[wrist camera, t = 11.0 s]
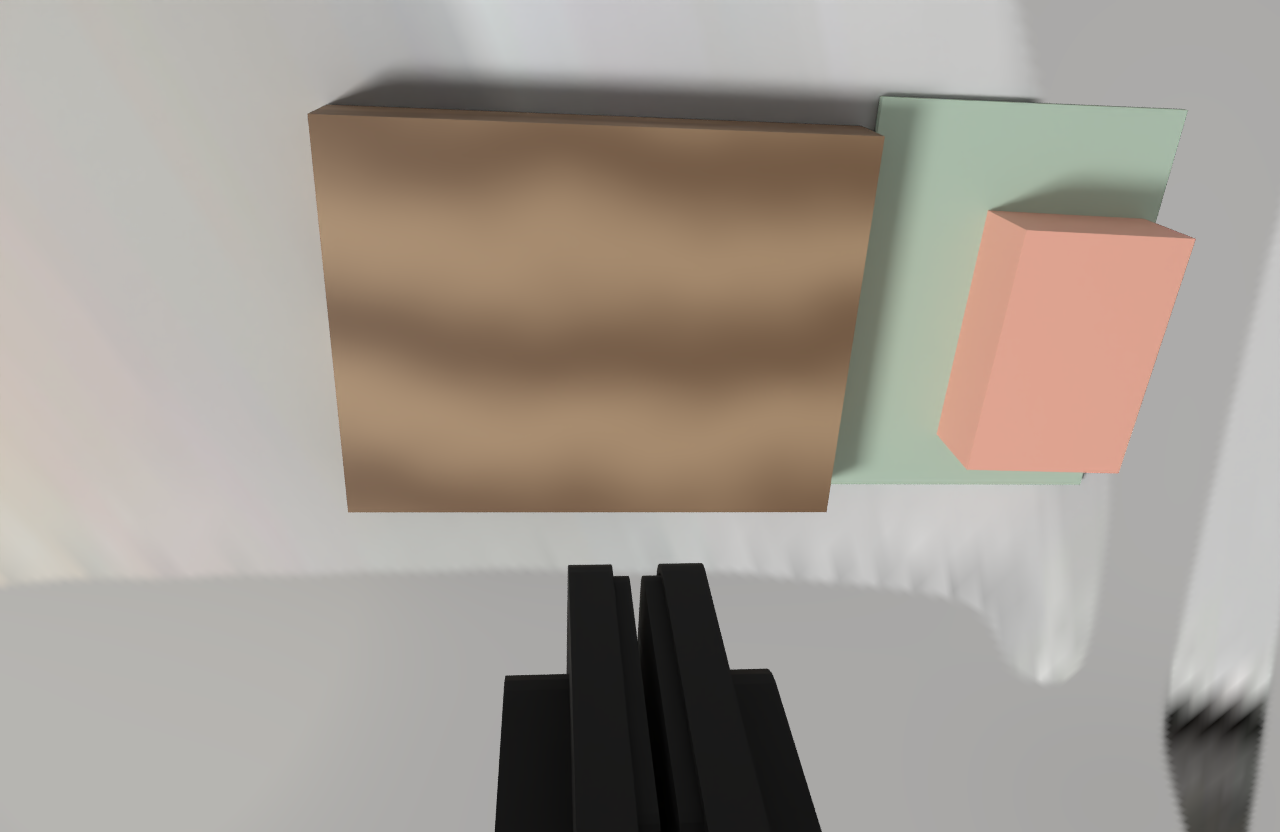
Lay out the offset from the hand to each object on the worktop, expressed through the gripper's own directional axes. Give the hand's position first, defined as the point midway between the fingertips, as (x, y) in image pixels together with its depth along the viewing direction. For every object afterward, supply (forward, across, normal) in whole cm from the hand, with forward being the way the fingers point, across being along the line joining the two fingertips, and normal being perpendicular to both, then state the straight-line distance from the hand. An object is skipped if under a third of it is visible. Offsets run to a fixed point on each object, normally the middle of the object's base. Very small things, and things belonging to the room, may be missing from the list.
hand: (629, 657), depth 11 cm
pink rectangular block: (+21, -18, +4) cm, 28 cm away
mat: (+23, -16, +4) cm, 28 cm away
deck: (+23, -1, +4) cm, 23 cm away
